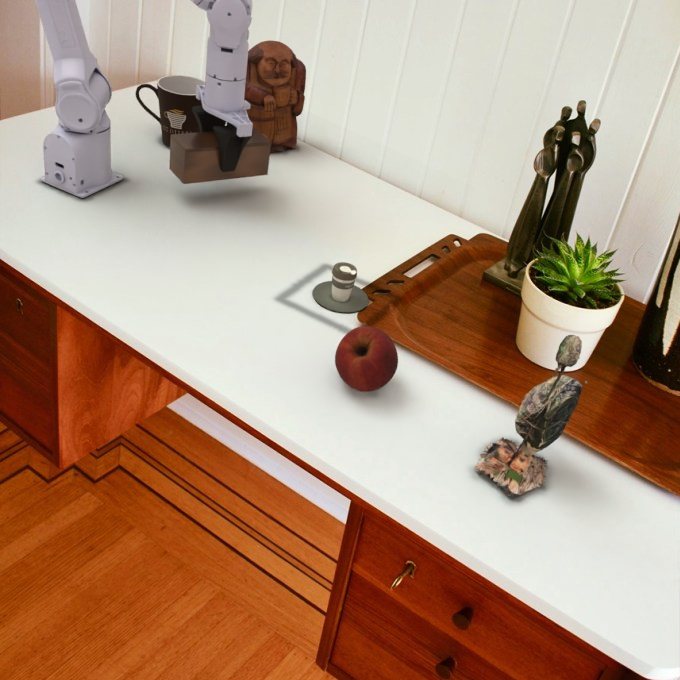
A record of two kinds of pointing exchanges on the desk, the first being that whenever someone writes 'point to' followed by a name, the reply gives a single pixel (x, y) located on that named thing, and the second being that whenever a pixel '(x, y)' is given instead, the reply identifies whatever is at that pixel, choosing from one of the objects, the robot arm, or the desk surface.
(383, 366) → the apple
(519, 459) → the plant with pod
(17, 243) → the desk surface
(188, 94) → the coffee mug
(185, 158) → the pencil box
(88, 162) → the robot arm
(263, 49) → the wooden figurine
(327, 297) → the coffee cup
